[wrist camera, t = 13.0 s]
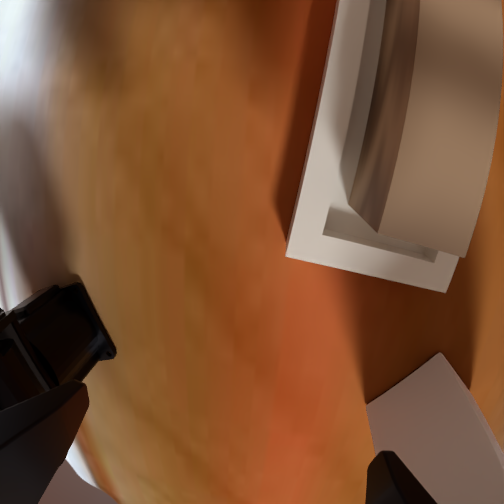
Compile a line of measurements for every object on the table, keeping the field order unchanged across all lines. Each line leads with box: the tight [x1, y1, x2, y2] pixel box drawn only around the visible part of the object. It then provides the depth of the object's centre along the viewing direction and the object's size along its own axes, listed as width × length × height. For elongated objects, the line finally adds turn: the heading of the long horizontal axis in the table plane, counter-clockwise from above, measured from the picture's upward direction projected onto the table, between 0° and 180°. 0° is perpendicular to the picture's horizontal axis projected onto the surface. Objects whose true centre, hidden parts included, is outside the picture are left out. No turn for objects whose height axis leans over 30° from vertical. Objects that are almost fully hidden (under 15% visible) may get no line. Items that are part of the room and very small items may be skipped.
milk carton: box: [366, 352, 504, 504], centre depth 12 cm, size 7×7×19 cm
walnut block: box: [348, 0, 503, 258], centre depth 11 cm, size 14×4×6 cm, turn 169°
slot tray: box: [285, 0, 459, 293], centre depth 14 cm, size 20×10×2 cm, turn 168°
